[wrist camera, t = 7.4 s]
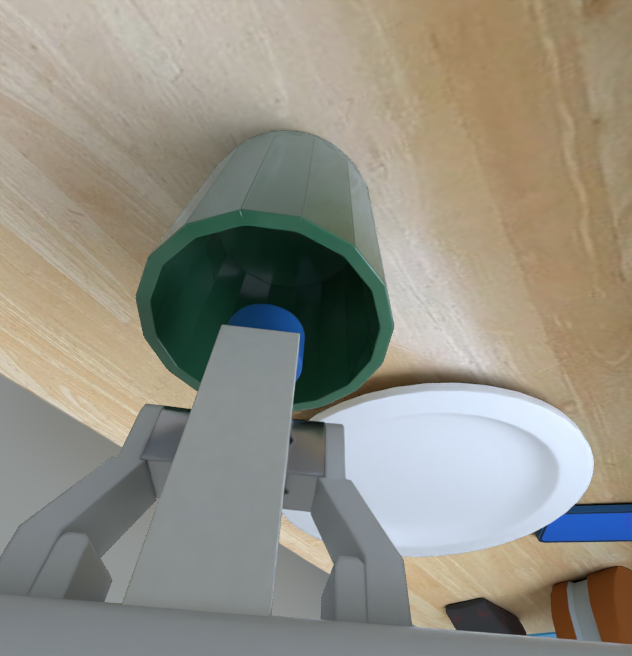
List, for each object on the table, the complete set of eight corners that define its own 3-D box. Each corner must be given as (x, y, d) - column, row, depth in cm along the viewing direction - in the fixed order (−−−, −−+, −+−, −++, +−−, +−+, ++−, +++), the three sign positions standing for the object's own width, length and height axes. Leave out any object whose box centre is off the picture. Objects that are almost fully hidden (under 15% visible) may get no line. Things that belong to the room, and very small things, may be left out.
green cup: (203, 117, 19) (112, 192, 11) (388, 143, 19) (424, 233, 11) (212, 277, 24) (156, 400, 17) (354, 293, 25) (364, 422, 17)
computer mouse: (481, 627, 67) (489, 657, 64) (439, 606, 61) (445, 638, 58) (527, 619, 64) (537, 650, 61) (487, 595, 58) (496, 629, 55)
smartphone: (549, 512, 40) (715, 508, 38) (545, 504, 41) (708, 499, 38) (535, 543, 44) (683, 541, 42) (533, 535, 45) (678, 532, 43)
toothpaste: (226, 293, 13) (67, 707, 5) (309, 303, 13) (274, 721, 5) (228, 361, 15) (116, 734, 7) (300, 369, 15) (266, 744, 7)
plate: (565, 316, 25) (583, 340, 24) (589, 510, 41) (601, 533, 39) (213, 423, 34) (206, 447, 32) (343, 550, 49) (343, 570, 48)
